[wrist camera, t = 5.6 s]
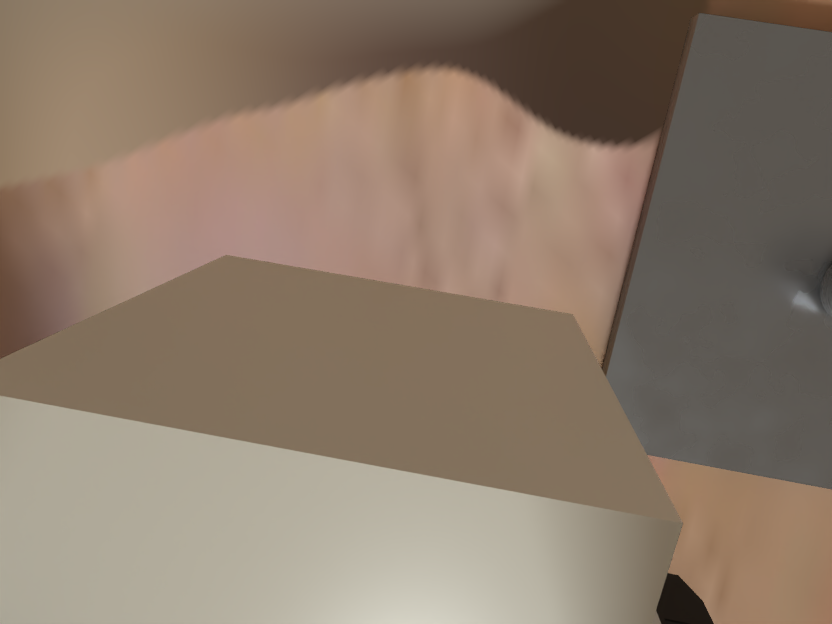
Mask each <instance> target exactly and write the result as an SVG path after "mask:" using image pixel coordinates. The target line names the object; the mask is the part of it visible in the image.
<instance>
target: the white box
mask: <svg viewBox="0 0 832 624" xmlns="http://www.w3.org/2000/svg"><path fill="white" fill-rule="evenodd" d="M682 525H683V522H682V521H681V519H680V517H679V515H678V513H677V511H676V509H675V507H674V505H673V503H672V502H671V500H670V498H669V496H668V494H667V492H666V490H665V488H664V486H663V484H662V483H661V481H660V479H659V477H658V475H657V473H656V471H655V469H654V467H653V465H652V464H651V462H650V460H649V458H648V456H647V454H646V452H645V450H644V448H643V446H642V445H641V443H640V441H639V439H638V437H637V435H636V433H635V431H634V429H633V428H632V426H631V424H630V422H629V420H628V418H627V416H626V414H625V412H624V410H623V409H622V407H621V405H620V403H619V401H618V399H617V397H616V395H615V393H614V391H613V390H612V388H611V386H610V384H609V382H608V380H607V378H606V376H605V374H604V372H603V371H602V369H601V367H600V365H599V363H598V361H597V359H596V357H595V355H594V354H593V352H592V350H591V348H590V346H589V344H588V342H587V340H586V338H585V336H584V335H583V333H582V331H581V329H580V327H579V325H578V323H577V321H576V319H575V317H574V316H573V314H568V313H562V312H557V311H551V310H545V309H539V308H533V307H527V306H522V305H516V304H510V303H504V302H498V301H492V300H486V299H481V298H475V297H469V296H463V295H457V294H451V293H446V292H440V291H434V290H428V289H422V288H416V287H411V286H405V285H399V284H393V283H387V282H381V281H376V280H370V279H364V278H358V277H352V276H346V275H341V274H335V273H329V272H323V271H317V270H311V269H305V268H300V267H294V266H288V265H282V264H276V263H270V262H265V261H259V260H253V259H247V258H241V257H235V256H230V255H225V256H223V257H221V258H218V259H216V260H214V261H212V262H210V263H207V264H205V265H203V266H201V267H199V268H197V269H194V270H192V271H190V272H188V273H186V274H184V275H181V276H179V277H177V278H175V279H173V280H170V281H168V282H166V283H164V284H162V285H160V286H157V287H155V288H153V289H151V290H149V291H147V292H144V293H142V294H140V295H138V296H136V297H134V298H131V299H129V300H127V301H125V302H123V303H120V304H118V305H116V306H114V307H112V308H110V309H107V310H105V311H103V312H101V313H99V314H97V315H94V316H92V317H90V318H88V319H86V320H83V321H81V322H79V323H77V324H75V325H73V326H70V327H68V328H66V329H64V330H62V331H60V332H57V333H55V334H53V335H51V336H49V337H47V338H44V339H42V340H40V341H38V342H36V343H33V344H31V345H29V346H27V347H25V348H23V349H20V350H18V351H16V352H14V353H12V354H10V355H7V356H5V357H3V358H1V359H0V624H652V622H653V618H654V615H655V612H656V609H657V605H658V602H659V599H660V596H661V593H662V589H663V586H664V583H665V580H666V576H667V573H668V570H669V567H670V564H671V560H672V557H673V554H674V551H675V547H676V544H677V541H678V538H679V535H680V531H681V528H682Z"/></svg>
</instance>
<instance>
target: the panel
mask: <svg viewBox="0 0 832 624" xmlns="http://www.w3.org/2000/svg"><path fill="white" fill-rule="evenodd" d="M602 371H603V372H604V374H605V376H606V378H607V380H608V382H609V384H610V386H611V388H612V390H613V391H614V393H615V395H616V397H617V399H618V401H619V403H620V405H621V407H622V409H623V410H624V412H625V414H626V416H627V418H628V420H629V422H630V424H631V426H632V428H633V429H634V431H635V433H636V435H637V437H638V439H639V441H640V443H641V445H642V446H643V448H644V450H645V452H646V454H647V455H651V456H657V457H662V458H667V459H673V460H678V461H683V462H689V463H694V464H699V465H705V466H710V467H715V468H721V469H726V470H731V471H737V472H742V473H747V474H753V475H758V476H763V477H769V478H774V479H779V480H785V481H790V482H795V483H801V484H806V485H811V486H817V487H822V488H827V489H832V32H827V31H820V30H813V29H806V28H799V27H792V26H786V25H779V24H772V23H765V22H758V21H751V20H744V19H738V18H731V17H724V16H717V15H710V14H703V13H698V14H697V15H695V16H693V17H691V20H690V23H689V27H688V32H687V35H686V39H685V43H684V47H683V51H682V55H681V59H680V63H679V67H678V71H677V75H676V79H675V83H674V87H673V91H672V94H671V98H670V102H669V106H668V110H667V114H666V118H665V122H664V126H663V130H662V134H661V138H660V142H659V146H658V150H657V153H656V157H655V161H654V165H653V169H652V173H651V177H650V181H649V185H648V189H647V193H646V197H645V201H644V205H643V209H642V213H641V217H640V220H639V224H638V228H637V232H636V236H635V240H634V244H633V248H632V252H631V256H630V260H629V264H628V268H627V272H626V276H625V280H624V284H623V287H622V291H621V295H620V299H619V303H618V307H617V311H616V315H615V319H614V323H613V327H612V331H611V335H610V339H609V343H608V347H607V351H606V354H605V358H604V362H603V366H602Z"/></svg>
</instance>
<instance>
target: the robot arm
mask: <svg viewBox="0 0 832 624" xmlns="http://www.w3.org/2000/svg"><path fill="white" fill-rule="evenodd" d="M652 624H714V623H713V621H712V619H711V617H710V615H709V613H708V611H707V609H706V607H705V605H704V603H703V601H702V600H701V599H700V598H699V597H698V596H697V595H696V594H695V593H694V591H693V590H692V589H691V588H690V587H689V586H688V585H687V584H686V583H685V582H684V581H683V580H682V579H681V578H680V577H679V576H678V575H674V574H669V573H667V576H666V580H665V583H664V586H663V589H662V593H661V596H660V599H659V602H658V605H657V609H656V612H655V615H654V618H653V622H652Z"/></svg>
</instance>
